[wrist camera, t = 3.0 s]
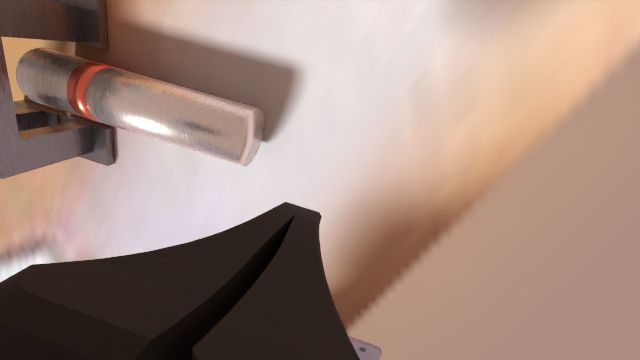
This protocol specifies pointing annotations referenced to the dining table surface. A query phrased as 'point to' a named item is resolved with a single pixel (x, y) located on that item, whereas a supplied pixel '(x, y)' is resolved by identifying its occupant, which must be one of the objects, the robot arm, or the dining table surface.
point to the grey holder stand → (74, 133)
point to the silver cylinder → (142, 104)
